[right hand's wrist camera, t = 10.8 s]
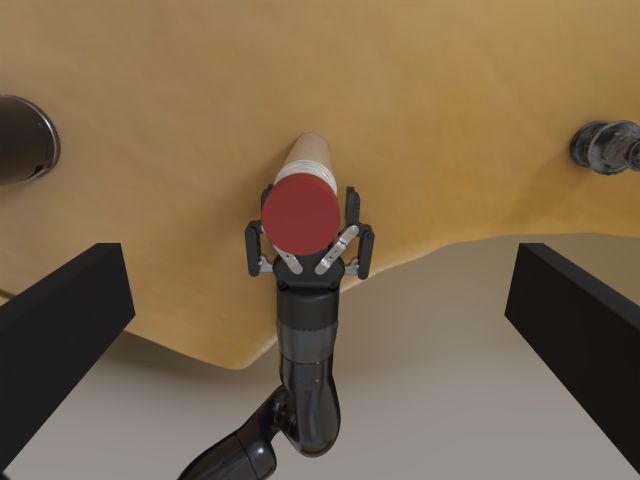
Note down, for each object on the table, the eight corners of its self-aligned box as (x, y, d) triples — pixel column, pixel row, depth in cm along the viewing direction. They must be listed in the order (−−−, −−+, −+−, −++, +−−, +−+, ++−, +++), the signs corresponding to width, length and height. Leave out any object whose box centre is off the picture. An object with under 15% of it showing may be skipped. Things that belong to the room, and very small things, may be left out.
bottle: (293, 131, 43) (261, 174, 19) (331, 133, 43) (345, 180, 20) (291, 168, 45) (260, 251, 21) (328, 171, 45) (337, 256, 21)
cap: (267, 169, 21) (261, 177, 19) (341, 175, 21) (343, 183, 19) (265, 239, 23) (260, 253, 21) (335, 243, 23) (336, 258, 21)
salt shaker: (611, 169, 45) (708, 193, 33) (562, 169, 45) (643, 194, 33) (625, 118, 42) (735, 126, 31) (574, 118, 42) (665, 126, 31)
